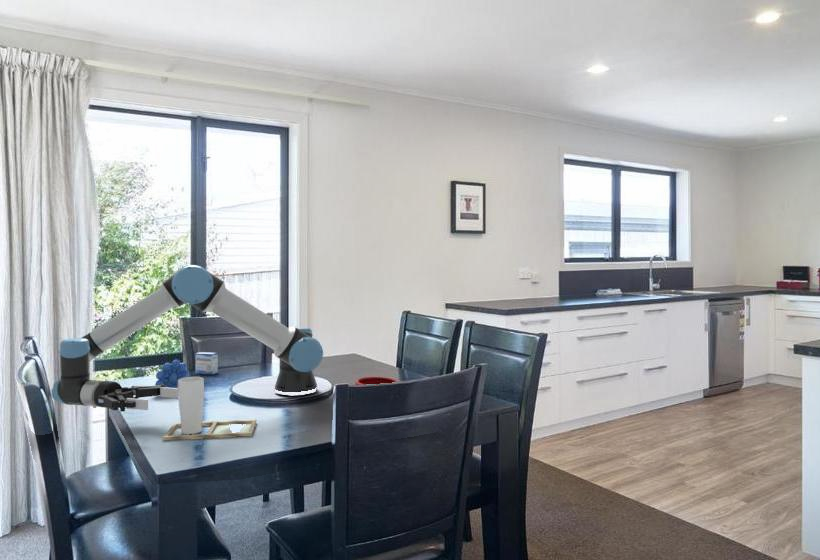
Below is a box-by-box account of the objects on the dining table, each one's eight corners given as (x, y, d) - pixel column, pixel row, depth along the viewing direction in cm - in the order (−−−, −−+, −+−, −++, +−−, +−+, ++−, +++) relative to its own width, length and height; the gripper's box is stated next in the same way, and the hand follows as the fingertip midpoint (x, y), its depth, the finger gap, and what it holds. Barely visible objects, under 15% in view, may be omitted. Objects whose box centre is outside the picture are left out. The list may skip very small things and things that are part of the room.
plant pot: (363, 428, 163) (363, 386, 163) (349, 416, 175) (349, 377, 175) (405, 423, 169) (405, 382, 168) (389, 411, 181) (389, 374, 180)
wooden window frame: (256, 422, 168) (256, 419, 168) (251, 436, 156) (251, 432, 156) (174, 426, 164) (174, 423, 164) (162, 440, 152) (162, 437, 152)
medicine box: (195, 374, 238) (194, 353, 238) (200, 371, 243) (200, 351, 242) (212, 374, 237) (212, 353, 237) (218, 372, 242) (217, 352, 241)
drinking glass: (209, 430, 161) (208, 377, 161) (193, 437, 155) (192, 382, 154) (189, 427, 163) (189, 375, 163) (172, 434, 157) (172, 380, 156)
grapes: (186, 388, 212) (186, 356, 211) (191, 392, 206) (191, 359, 206) (152, 393, 205) (152, 359, 204) (156, 396, 199) (156, 362, 199)
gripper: (133, 396, 179) (192, 401, 173) (66, 418, 155) (132, 424, 149) (133, 372, 178) (192, 376, 173) (66, 390, 154) (131, 396, 149)
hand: (164, 398), depth 161 cm, fingers open, 13 cm apart
